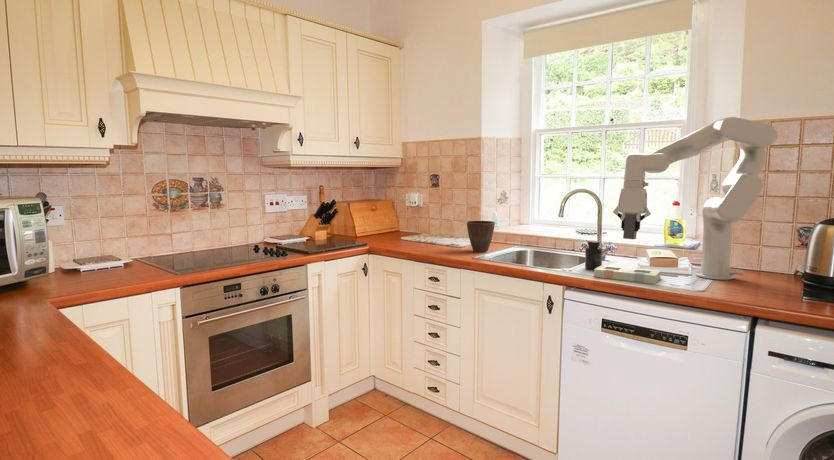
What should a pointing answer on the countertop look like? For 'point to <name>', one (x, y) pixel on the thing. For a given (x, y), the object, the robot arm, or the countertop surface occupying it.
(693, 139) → the robot arm
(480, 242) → the plant pot
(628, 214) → the dark grey tall block
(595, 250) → the supplement bottle
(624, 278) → the socket board
